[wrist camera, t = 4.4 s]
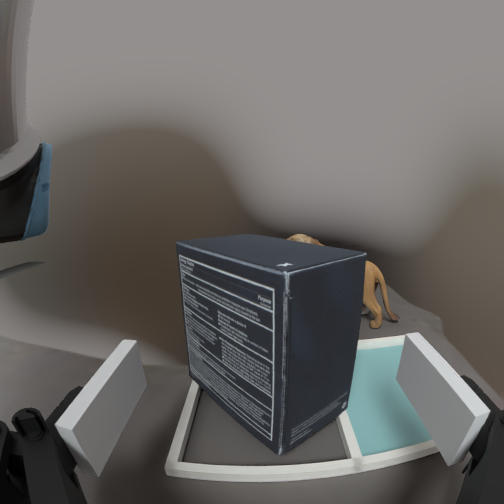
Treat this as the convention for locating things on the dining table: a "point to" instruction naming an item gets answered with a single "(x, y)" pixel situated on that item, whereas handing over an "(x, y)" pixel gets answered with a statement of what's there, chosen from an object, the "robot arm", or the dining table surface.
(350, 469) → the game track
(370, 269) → the lion figurine
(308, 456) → the dining table surface
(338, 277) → the small box
